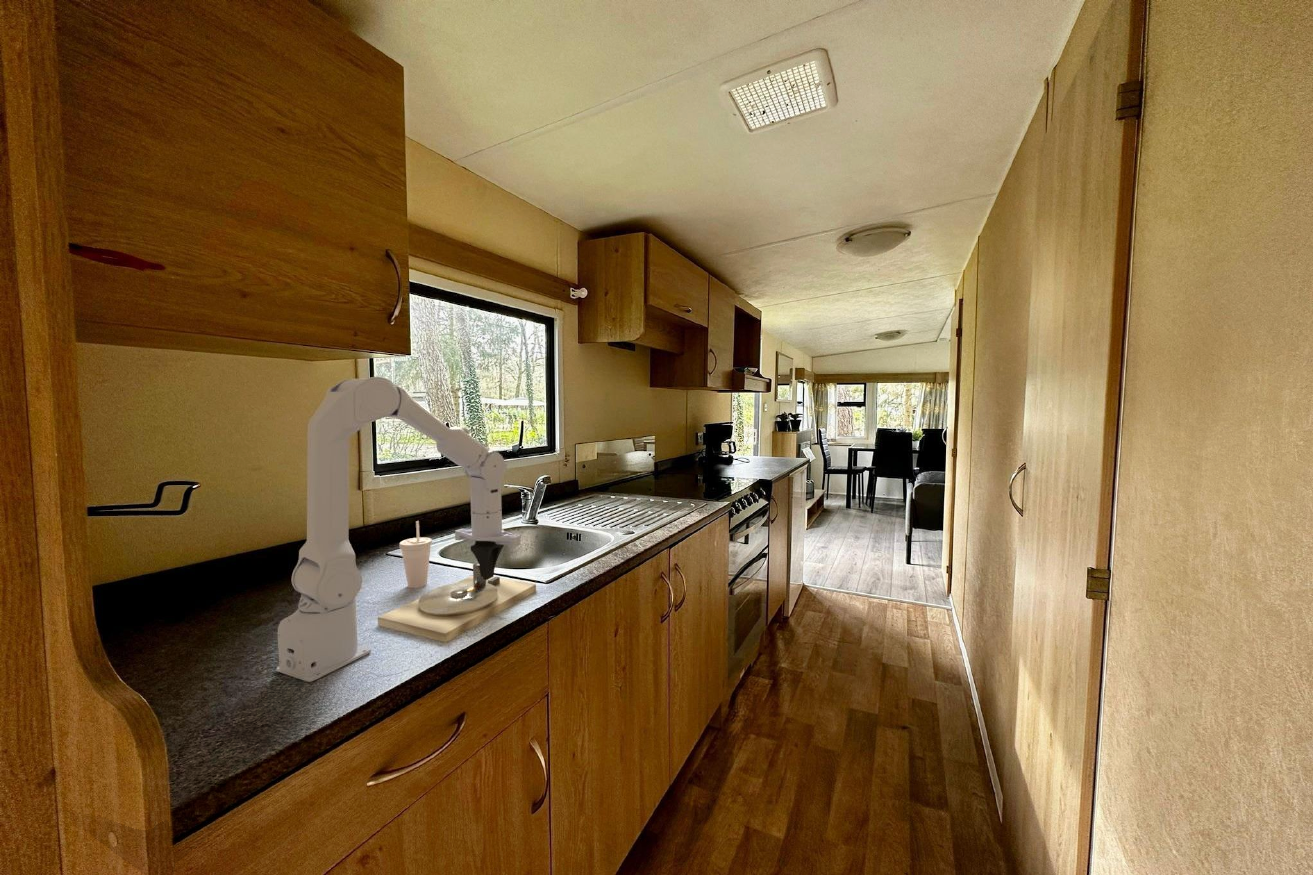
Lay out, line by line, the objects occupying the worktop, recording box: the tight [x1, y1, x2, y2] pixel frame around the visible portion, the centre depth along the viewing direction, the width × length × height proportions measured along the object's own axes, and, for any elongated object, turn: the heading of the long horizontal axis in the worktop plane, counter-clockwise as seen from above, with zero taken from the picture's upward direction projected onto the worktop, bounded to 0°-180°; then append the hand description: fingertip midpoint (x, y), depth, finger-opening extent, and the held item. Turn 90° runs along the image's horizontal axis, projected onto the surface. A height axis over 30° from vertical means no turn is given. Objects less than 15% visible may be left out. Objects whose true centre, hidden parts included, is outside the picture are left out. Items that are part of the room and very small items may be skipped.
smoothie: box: [399, 520, 433, 589], centre depth 106 cm, size 6×6×14 cm
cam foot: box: [418, 562, 498, 616], centre depth 94 cm, size 14×14×5 cm
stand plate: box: [377, 575, 537, 643], centre depth 95 cm, size 24×16×3 cm, turn 157°
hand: (488, 578), depth 98 cm, fingers closed
